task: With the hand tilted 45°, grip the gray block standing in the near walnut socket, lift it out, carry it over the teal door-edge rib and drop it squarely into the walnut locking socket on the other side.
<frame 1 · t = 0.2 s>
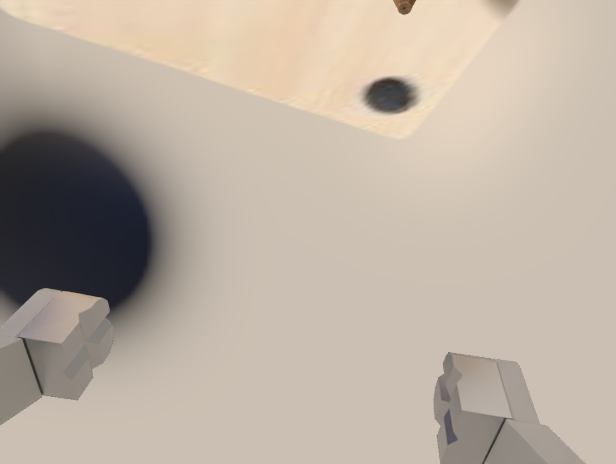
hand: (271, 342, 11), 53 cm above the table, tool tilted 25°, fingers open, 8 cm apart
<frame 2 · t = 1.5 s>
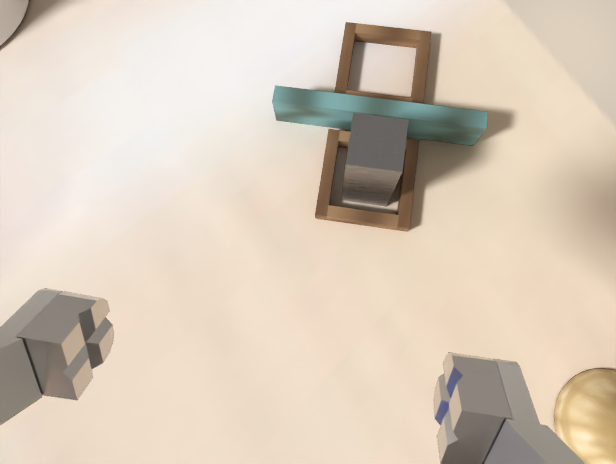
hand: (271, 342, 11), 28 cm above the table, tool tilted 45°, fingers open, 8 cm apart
hand bell: (605, 423, 36), on the table
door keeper: (374, 125, 42), on the table
gray block: (366, 181, 41), resting in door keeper
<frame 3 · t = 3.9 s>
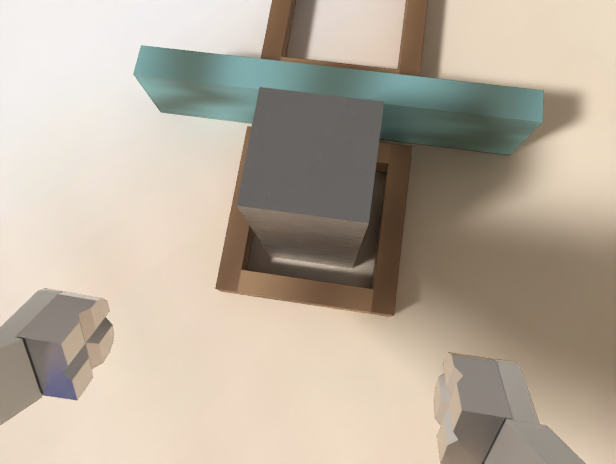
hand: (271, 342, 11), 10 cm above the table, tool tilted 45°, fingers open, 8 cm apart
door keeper: (332, 119, 23), on the table
gray block: (317, 222, 22), resting in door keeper
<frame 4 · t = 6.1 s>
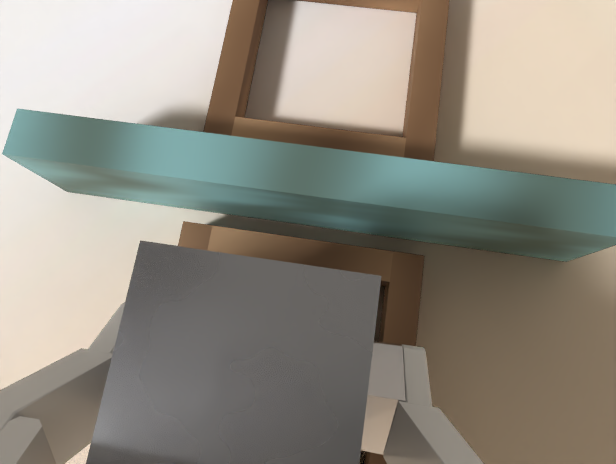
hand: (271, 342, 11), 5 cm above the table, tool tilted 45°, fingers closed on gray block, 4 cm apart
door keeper: (309, 205, 16), on the table
gray block: (284, 361, 15), resting in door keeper, touching gripper
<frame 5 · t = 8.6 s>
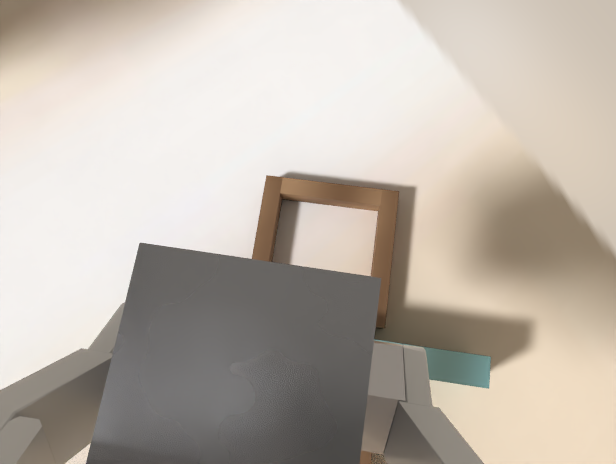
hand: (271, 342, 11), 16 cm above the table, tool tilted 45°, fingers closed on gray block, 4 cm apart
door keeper: (310, 344, 26), on the table
gray block: (284, 362, 15), point 11 cm above the table, touching gripper
when the fingers open (6 cm above the table, at t = 11.4 s): gray block drops 1 cm, resting in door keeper.
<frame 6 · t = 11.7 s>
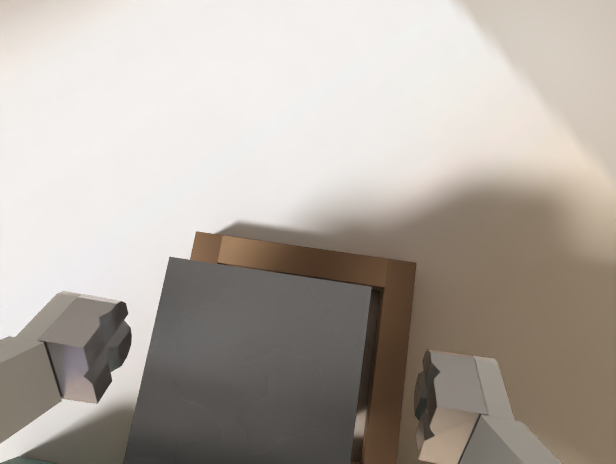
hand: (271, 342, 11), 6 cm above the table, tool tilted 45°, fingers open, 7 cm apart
gray block: (287, 359, 17), resting in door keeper
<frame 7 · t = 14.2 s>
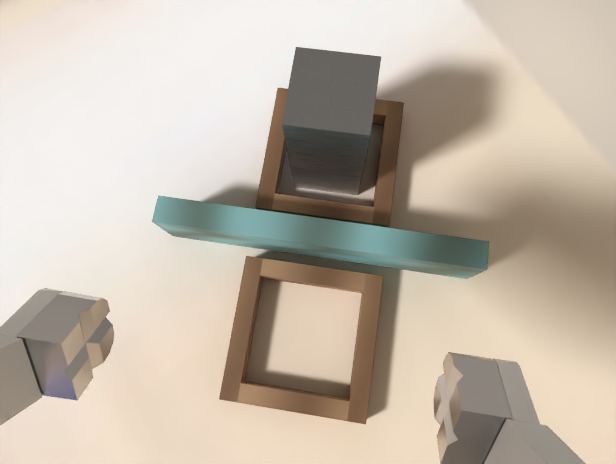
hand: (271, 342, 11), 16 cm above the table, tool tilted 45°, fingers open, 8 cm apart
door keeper: (318, 244, 28), on the table
gray block: (330, 161, 29), resting in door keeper
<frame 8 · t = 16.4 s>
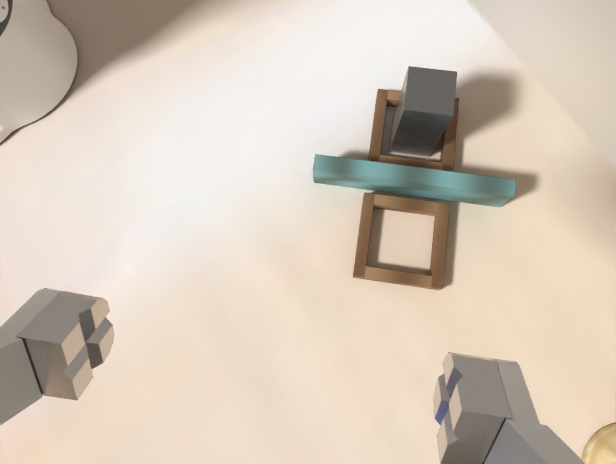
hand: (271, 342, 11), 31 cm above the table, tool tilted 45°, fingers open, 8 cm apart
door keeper: (406, 187, 44), on the table
gray block: (411, 135, 46), resting in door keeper
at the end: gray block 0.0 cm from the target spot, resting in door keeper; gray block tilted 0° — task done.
